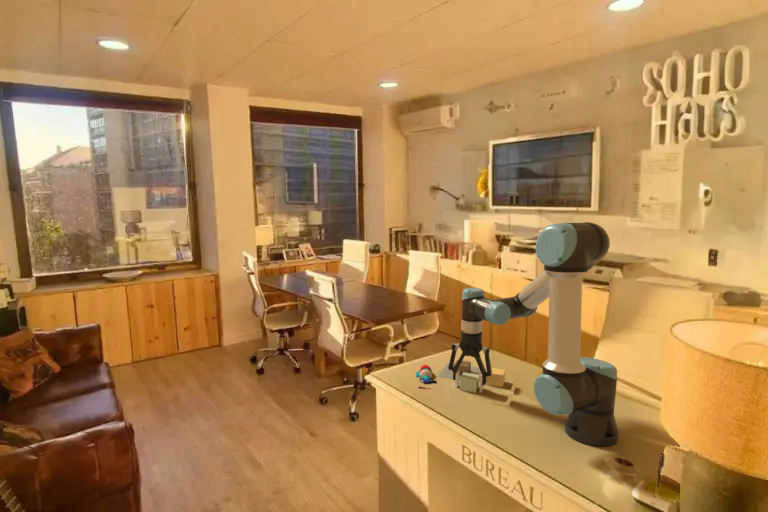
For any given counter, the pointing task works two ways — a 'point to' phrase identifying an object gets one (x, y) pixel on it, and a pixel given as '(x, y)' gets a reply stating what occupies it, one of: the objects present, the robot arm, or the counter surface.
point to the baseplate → (449, 374)
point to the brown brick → (464, 367)
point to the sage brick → (469, 382)
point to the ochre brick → (496, 378)
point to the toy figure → (425, 375)
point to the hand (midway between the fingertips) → (469, 390)
